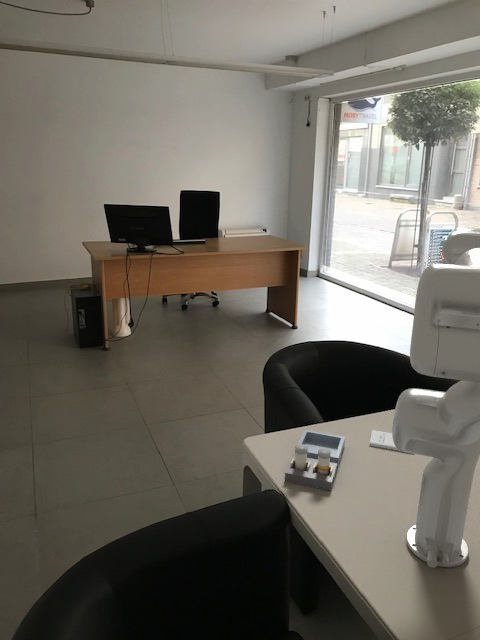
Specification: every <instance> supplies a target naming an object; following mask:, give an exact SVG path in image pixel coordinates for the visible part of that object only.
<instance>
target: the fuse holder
mask: <svg viewBox="0 0 480 640" xmlns="http://www.w3.org/2000/svg"><path fill="white" fill-rule="evenodd" d="M317 463H318V460H317V459H312V458H307V461H306V471H302V470H297V469H295V454H293V455H292V457H291V459H290V462H289V463H288V465H287V468H286V470H285V472H284V481H285V482H286V483H287V482H288V483H291V484H295V485H296V484H297V485H301V486H305V487H311V488H317V489H319V490H320V489H322V490H326V491H330V492H331V491H332V490H333V489H332V487H333V486H334V482H335V479H336V476H337V471H338V468H337V463H332V462H330V465H329V476H327V475H322V474H317Z"/></svg>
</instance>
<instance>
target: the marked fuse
mask: <svg viewBox="0 0 480 640" xmlns="http://www.w3.org/2000/svg"><path fill="white" fill-rule="evenodd" d="M330 455H331V452H330V450H328V449H324V448H323V449H319V450H318V463H317V474H322V475H327V476H329V465H330Z"/></svg>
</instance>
